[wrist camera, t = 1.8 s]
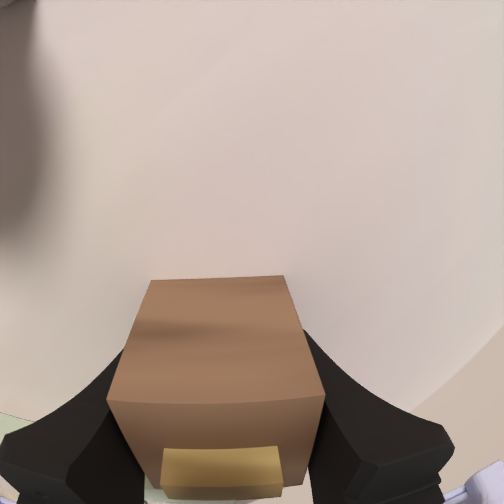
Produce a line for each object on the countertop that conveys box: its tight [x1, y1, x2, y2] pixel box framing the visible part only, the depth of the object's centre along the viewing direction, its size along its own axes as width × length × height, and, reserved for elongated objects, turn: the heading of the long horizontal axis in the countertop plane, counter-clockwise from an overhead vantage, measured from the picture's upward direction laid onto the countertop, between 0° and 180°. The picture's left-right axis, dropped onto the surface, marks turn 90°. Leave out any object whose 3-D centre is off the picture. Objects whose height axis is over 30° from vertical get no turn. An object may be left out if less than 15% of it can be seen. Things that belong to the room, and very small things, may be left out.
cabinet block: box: [106, 275, 325, 501], centre depth 10 cm, size 5×5×7 cm
